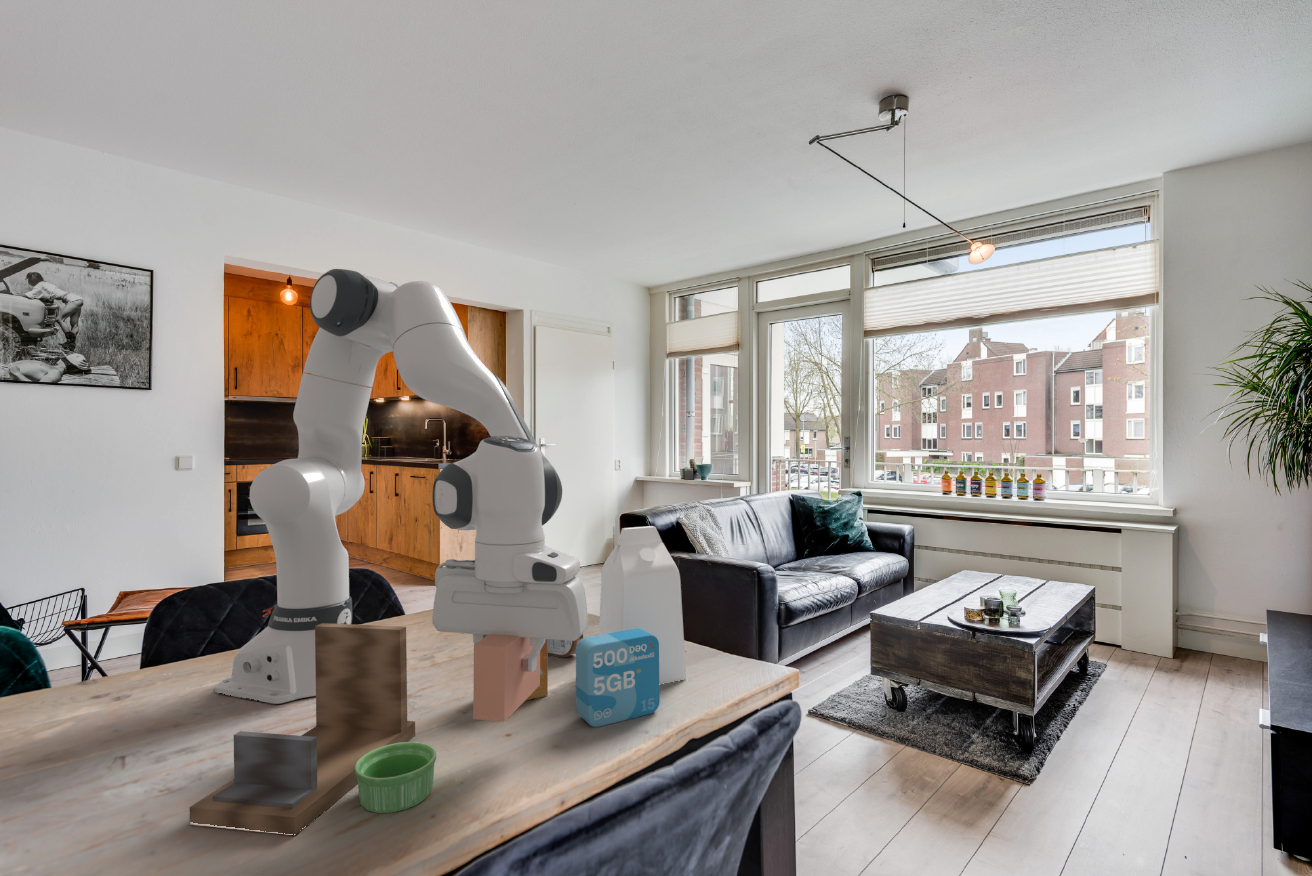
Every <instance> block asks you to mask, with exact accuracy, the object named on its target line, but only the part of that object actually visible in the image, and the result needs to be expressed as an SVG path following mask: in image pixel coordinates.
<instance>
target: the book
mask: <svg viewBox="0 0 1312 876" xmlns="http://www.w3.org/2000/svg"><path fill="white" fill-rule="evenodd" d="M533 647H534V645H533V646H530V645H529V638H525V637H519V636H506V635H492V634H489V635H488V636H486V637H485V638H483V639H482V640H480V641H479V642H477V643H476V644H474V643H473V699H472V700H473V705H472V706H473V708H472V709H473V710H472V711H473V713H472V714H473V715H472V717H473V718H472V719H473V720H482V721H488V722H489V721H492V722H499V723H505V722H506V721H507V720H508V719H509V718H510V717H511V716H512V715H513V714H514V713H515V711H516V710H517V709H519V707H521V705H523V703H524V702H526V701H527V700H526V699H527V698H528V697H529V696H530V695H531V694H532V693H533V692H534V691H535V690H536V689H537V688H538V687H539V686H540V652H539V653H538V655H537V666H536V669H535V670H534V671H533V672H525V671H521V666H522V664H521V658H522V657H524V656H525V655H526V654H530V652H531V650H532V649H533Z"/></svg>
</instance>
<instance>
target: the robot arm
mask: <svg viewBox="0 0 1312 876" xmlns="http://www.w3.org/2000/svg"><path fill="white" fill-rule="evenodd" d="M309 299H310V300H309V310H310V313H311V314H310V315H311V317H312V319H313V322H314V323H315V325H317V326H318V327H319V328H318V330H317V332H316V334H315V337H314V338H313V341H312V343H311V346H310V348H309V351H308V354H307V356H306V357H307V358H306V360H305V364H304V368H303V372H302V376H301V380H300V383H299V387H298V388H299V389H298V393H297V396H296V401H295V404H294V410H293V414H292V415H293V417H292V418H293V422H294V424H295V426H296V428H297V433H298V455H297V458H288V459H284V460H281V461H278V462H276V463H274V464H272V465H270V466H268V467H267V468H264V469H262V470H261V471H260V472H258V474H257V475H256V476H255V478H253V481H252V483H251V485H250V489H249V502H250V504H251V507H252V509H253V511H254V512H255V514H256V515H257V516H258V517H259V518H260V519H261V520H262V521H263V523H264V525H265V526H266V528H267V532H268V535H269V538H270V542H271V545H272V547H273V548H272V549H273V550H274V551H273V552H274V557H275V565H276V591H277V593H276V594H277V597H276V599H277V600H276V601H277V603H276V604H274V605H273V606H272V607H269V608H267V609H264V610H262V613H264V612H265V614H263V615H262V617H263V618H265V617H268V616H270V617H269V621H268V624H267V626H266V627H265V628H264V629H263V630H261V632H259V633H258V634H256V635H255V636H254V637H253V638H252V639H250V640H249V641H248V642H247V643H246V644H244V645H242V646H241V647H240V648H239V649H238V651H237V652H236V654H235V656H234V658H233V663H232V668H231V669H232V670H231V675H229V676H227V677H226V678H224V679H222V680H221V681H219V683H217V685H216V686H215V691H214V692H215V693H216V692H217V693H216V694H219V693H223V694H222V695H224V694H225V696H230V695H231V696H230V697H236V698H241V697H242V699H246V698H250V699H249V700H251V699H254V700H253V701H257V700H260V701H259V702H263V703H267V704H272V705H273V704H274V705H275V704H283V703H288V702H292V701H295V700H298V699H304V698H310V697H316V668H315V626H317V625H319V624H321V623H330V624H352V622H353V600H352V598H353V597H351V596H350V577H349V576H350V575H349V574H350V569H349V567H350V566H349V564H350V563H349V562H350V561H349V559H350V557H349V552H348V550H347V548H346V547H344V545H343V543H342V541H341V538H340V535H339V531H338V527H337V523H336V516H339V515H343V514H344V513H345V512H347V511H348V510H350V509H351V508H352V507H353V506H355V505H356V504H357V503H358V502H359V501H360V499H361V498H362V496H363V495H364V491H365V488H366V487H365V485H366V484H365V483H366V481H365V477H364V475H363V472H362V456H363V454H362V451H363V450H362V448H363V447H362V445H363V444H362V443H363V431H364V426H365V422H366V421H365V420H366V417H367V412H368V408H369V402H370V397H371V395H372V391H373V386H374V382H375V377H376V371H377V366H378V363H379V361H380V359H381V358H382V357H383V356H385V355H386V354H387V353H392V354H393V357H394V361H395V365H396V367H397V371H398V374H399V375H400V377H401V379H402V381H403V382H404V384H405V386H406V387H407V388H408V389H409V390H410V392H412V393H413V394H414V395H416V396H418V397H420V398H421V399H423V400H426V401H427V402H430V403H433V404H436V405H440V406H444V407H447V408H450V409H453V410H455V411H457V412H461V413H463V414H465V415H467V416H469V417H471V418H473V419H475V420H476V421H478V422H479V423H480V424H481V425H482V426H483V427H484V429H486V431H487V432H488V434H489V437H487V438H486V437H485V438H484V439H482V440H481V441H480V442H479V444H478V447H477V449H476V451H474V452H473V453H472V454H470V455H469V456H467V457H465V458H463V459H461V460H458V461H455V462H450V463H448V464H447V465H446V466H444V467H443V468H442V469H441V471H440V472H438V475H437V476H436V478H435V480H434V481H433V486H432V506H433V507H432V509H433V511H434V514H435V516H436V517H437V518H438V519H439V520H440V521H441V522H442V524H444V525H445V526H447V528H449V529H451V530H458V531H475V530H476V532H475V533H476V534H475V538H474V559H473V560H472V559H462V560H458V559H446V560H445V562H442V563H440V564H439V565H438V567H436V569H435V574H434V575H435V576H434V584H435V593H434V600H433V607H432V620H431V621H432V625H433V626H434V628H435V629H436V631H437V632H439V633H454V634H467V635H469V634H470V635H472V642H473V645H474V644H476V643H477V642H479V641H480V640H482V639H483V638H485V637H486V636H488V635H489V634H492V635H506V636H519V637H525V638H529V645H530V646H533V645H534V647H533V649H532V650H531V652H530V654H526V655H525V656H524V657H522V658H521V664H522V666H521V671H525V672H533V671H534V670H535V669H536V666H537V655H538V653H539V652H540V650H541V648H542V646H543V645H544V643H545V639H554V640H569V641H575V640H577V639H578V638H579V637H580V636H581V635H582V634H583V635H584V633H585V632H586V630H587V628H588V619H589V617H588V603H587V596H586V595H587V594H586V591H585V586H584V583H583V581H581V579H580V578H578V576H577V575H578V574H579V572H580V571H581V570H580V569H581V563H580V560H579V558H577V557H575V556H572V555H569V554H567V553H565V552H564V553H563V552H562V551H560V550H558V549H557V550H556V549H554V548H551V547H550V546H547V545H545V543H546V541H545V538H546V537H545V536H546V535H545V532H544V528H543V526H544V525H546V524H547V523H548V522H549V521H550V520H551V519H552V518H553V517H554V515H555V513H556V512H557V510H558V508H559V506H560V504H561V502H562V498H563V486H562V482H561V478H560V475H559V474H558V472H557V470H556V469H555V467H554V465H553V464H551V462H550V461H549V460H548V458H547V457H546V455H544V453H543V452H542V450H541V448H540V446H539V445H538V444H537V442H536V440H535V438H534V436H533V435H532V432H531V431H530V429H529V426H528V425H527V423H526V422H525V421H526V420H525V419H524V417H523V416H522V414H521V412H520V410H519V408H518V406H517V404H516V403H515V401H514V398H513V396H511V394H510V391H509V390H508V388H507V386H506V385H505V384H504V382H503V380H502V379H500V377H499V376H498V375H496V374H495V373H494V372H492V370H490V369H489V368H488V366H486V365H485V364H484V363H483V362H482V360H481V359H480V358H479V357H478V355H477V354H476V352H474V350H473V348H472V347H471V345H470V342H469V341H468V338H467V335H466V332H465V329H464V328H463V327H464V326H463V325H462V322H461V320H460V318H459V316H458V314H457V312H456V310H455V308H454V307H453V304H452V303H451V301H450V299H449V298H448V296H447V295H446V293H445V292H444V291H443V290H442V289H441V288H440V287H439V286H437V285H436V284H434V283H431V282H428V281H423V280H414V281H407V282H406V283H402V284H398V283H395V282H392V281H386V280H382V279H380V278H376V277H373V276H368V275H365V274H362V273H360V272H358V271H356V270H352V269H345V268H344V269H343V268H332V269H330V270H327V271H326V272H325V273H323V274H322V275H320V277H319V278H318V279H317V281H316V282H315V283H314V285H313V288H312V291H311V294H310V298H309Z"/></svg>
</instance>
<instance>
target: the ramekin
mask: <svg viewBox="0 0 1312 876" xmlns="http://www.w3.org/2000/svg"><path fill="white" fill-rule="evenodd" d="M436 760H437V751H436V749H435V748H434V747H433V746H432V745H430V744H427V743H425V742H419V741H408V742H401V743H395V744H390V745H386V746H383V747H380V748H377V749H375V750H372V751H370V752H369V753H367V754H365V755H364V756H362V757H361V758H360V759H359V760H358V761H357V763H356V765H355V774H356V776H357V779H358V784H357V786H358V787H357V788H358V797H359V803H360V805H361V807H362V808H363V809H364V810H367V811H368V812H371V813H375V814H376V813H377V814H391V813H397V811H398V812H401V810H402V811H404V810H408V809H410V807H411V808H412V807H415V806H418V804H421V803H422V802H423V801H424V800H426V799H427V798H428V797H429V796H430V795H431V794H432V790H433V787H434V786H433V785H434V774H435V772H434V771H435V764H436Z"/></svg>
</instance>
